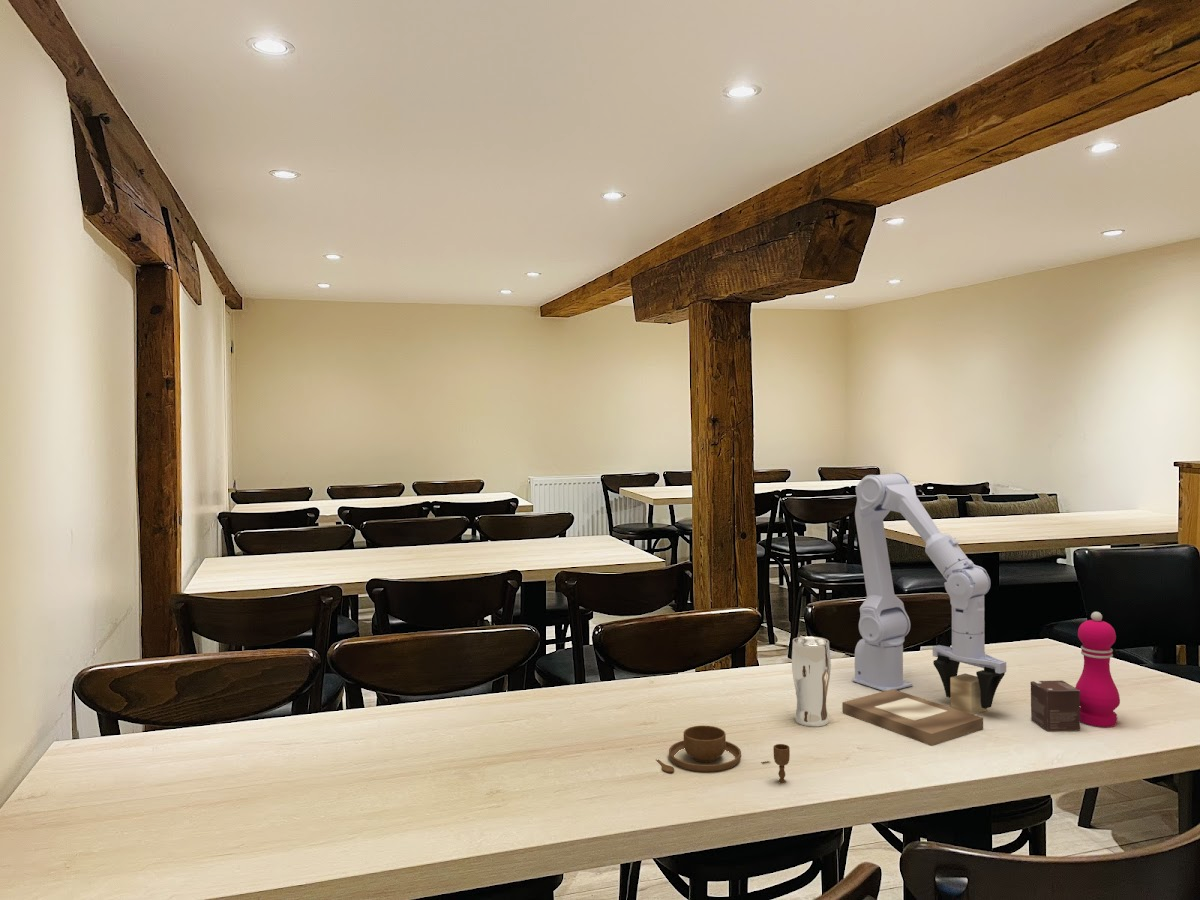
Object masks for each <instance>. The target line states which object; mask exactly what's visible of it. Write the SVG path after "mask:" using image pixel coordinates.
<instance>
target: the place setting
mask: <svg viewBox="0 0 1200 900" xmlns="http://www.w3.org/2000/svg"><path fill="white" fill-rule="evenodd" d="M726 739H727V737H726V732H725V731H724V729H722V728H720V727H718V726H714V725H713V726H711V725H695V726H691V727H688V728H686V729H684V731H683V739H682V740H681V741H678V742H676V743H673V744H672V745H671V746H670V747H669V749H668V756H669V759H670V760H671V762H672V763H673V764H674V765H676V766H677V767H679V768H681V769H684V770H687V771H691V770H692V771H691V772H697V771H698V773H700V772H701V773H716V772H722V771H726V770H729V769H732V768H734V767H735V766H737V765H738V764H739V762H740V761H741V758H742V751H741V749H740V748H739V747H738V745H736V744H735V743H732V742H730V741H727V740H726ZM684 748H685V749H684ZM681 749H684V751H685V752H686V754H687V755H689V756H690V757H692V759H693V761H695V762H699V763H712V762H715V761H717V759H718V758H719V757H721V756H722V755H724V753H725V752H728V751H729V752H728V753H729V754H731V755H733V757H734V756H735V757H734V759H732V760H729V761H727V762H724V763H716V764H698V763H690V762H686V761H682V760H680V759H678V758H676V755H677V754H678V753H679V752H678V751H679V750H681ZM725 750H726V751H725ZM790 751H791V749H790V746H789V745H788V744H785V743H777V744H775V745H773V759H774V762H775V764H777V765H778V770H779V771H778V773H777V774H778V777H779V779H778V780H777V783H779V782H780V783H779V784H786V783H787V780H786V779H785V777H786V771H785V766H787V765H788V764H789V763H790V758H791V757H790V756H791V755H790V753H791V752H790ZM677 752H678V753H677ZM676 753H677V754H676ZM675 754H676V755H675ZM674 755H675V757H674ZM655 761H656V762H657V763H658V764H660V765H661V770H662V771H663V772H666V773H674V772H675V767H673V766H671V765H668V764H666V763H664V762H662V761H661V760H660V759H658V760H657V759H655ZM760 763H762V764H768V763H770V760H769V761H768V760H766V761H761V762H760Z"/></svg>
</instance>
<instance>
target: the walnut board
mask: <svg viewBox="0 0 1200 900" xmlns="http://www.w3.org/2000/svg"><path fill="white" fill-rule="evenodd" d="M841 708H842V709H841V710H842V711H841V712H843V714H845V713H846V714H845V715H847V714H848V715H847V716H850V715H851V717H852V718H853V717H854V718H856V719H859V720H860V721H861V720H862V721H865V722H867V723H870V724H872V725H875V726H877V727H880V728H883V729H885V730H889V731H891V732H894V733H896V734H899V735H902V736H905V737H908V738H910V739H913V740H915V741H918V742H921V743H924V744H927V745H929V746H935V745H938V744H941V743H945V742H948V741H950V740H953V739H957V738H959V737H963V736H965V735H968V734H973V733H975V732H978V731H982V730H984V717H982V716H978V715H976V714H970V713H966V712H963V711H960V710H957V709H954V708H951V706H947V705H945V704H940V703H939V702H934V701H931V700H928V699H925V698H922V697H918V696H916V695H913V694H908V693H906V692H903V691H900V690H894V689H891V690H887V691H879V692H877V693H872V694H869V695H864V696H861V697H857V698H852V699H850V700H845V701H843V702H842V706H841Z"/></svg>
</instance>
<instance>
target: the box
mask: <svg viewBox="0 0 1200 900" xmlns="http://www.w3.org/2000/svg"><path fill="white" fill-rule="evenodd" d="M1075 687H1076V686H1073V685H1071V684H1069V683H1068V682H1066V681H1064V680H1033V681H1032V680H1031V681H1030V711H1031V712H1030V714H1031V716H1030V720H1031V721H1032V722H1033V723H1035V724H1037V725H1038V726H1040V728H1043V730H1046V731H1047V732H1064V731H1065V732H1067V731H1068V732H1069V731H1072V732H1073V731H1076V732H1077V731H1081V722H1080V690H1078V689H1076V688H1075Z"/></svg>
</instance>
